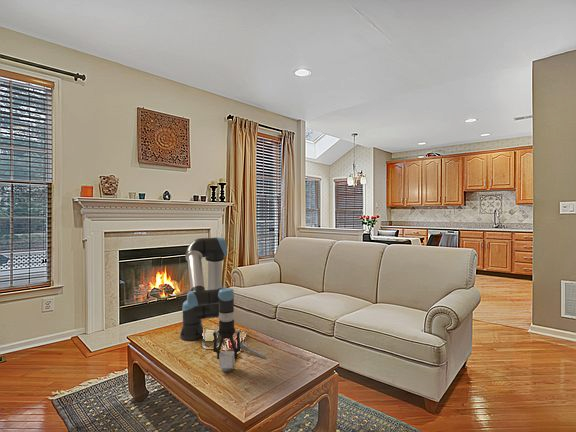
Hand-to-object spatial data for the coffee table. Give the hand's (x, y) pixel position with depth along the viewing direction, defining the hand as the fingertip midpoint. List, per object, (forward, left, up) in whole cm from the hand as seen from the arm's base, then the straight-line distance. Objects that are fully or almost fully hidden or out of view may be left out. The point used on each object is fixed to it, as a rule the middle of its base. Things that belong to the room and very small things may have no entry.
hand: (227, 365), depth 173 cm
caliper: (-18, +11, -3) cm, 21 cm away
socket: (0, 0, 0) cm, 0 cm away
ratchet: (-8, 0, -3) cm, 9 cm away
